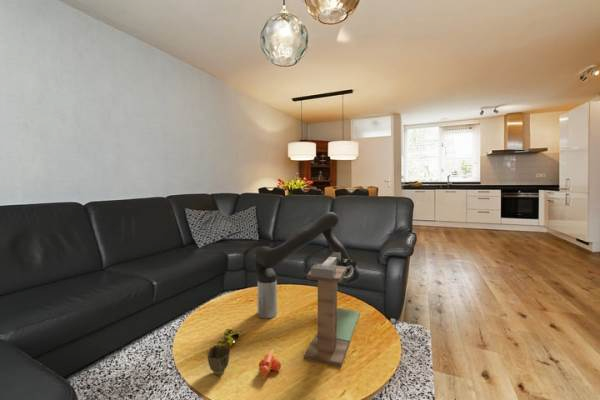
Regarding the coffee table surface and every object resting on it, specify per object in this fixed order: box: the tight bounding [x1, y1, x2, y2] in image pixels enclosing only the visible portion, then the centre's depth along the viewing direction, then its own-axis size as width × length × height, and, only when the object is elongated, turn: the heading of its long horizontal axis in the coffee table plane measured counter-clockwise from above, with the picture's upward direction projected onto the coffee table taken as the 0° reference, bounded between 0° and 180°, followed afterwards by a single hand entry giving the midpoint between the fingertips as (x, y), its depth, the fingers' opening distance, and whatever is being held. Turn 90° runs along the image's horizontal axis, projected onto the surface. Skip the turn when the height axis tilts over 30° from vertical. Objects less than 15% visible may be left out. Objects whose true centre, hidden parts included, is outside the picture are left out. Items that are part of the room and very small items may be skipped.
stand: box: [303, 263, 350, 368], centre depth 109 cm, size 14×14×32 cm
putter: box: [310, 252, 341, 279], centre depth 111 cm, size 24×8×3 cm, turn 159°
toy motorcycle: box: [216, 328, 242, 348], centre depth 117 cm, size 12×4×7 cm
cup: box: [206, 344, 231, 376], centre depth 98 cm, size 8×7×8 cm
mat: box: [316, 307, 361, 344], centre depth 131 cm, size 27×14×1 cm, turn 159°
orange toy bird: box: [258, 348, 282, 380], centre depth 100 cm, size 5×8×12 cm
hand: (338, 259), depth 124 cm, fingers open, 8 cm apart
